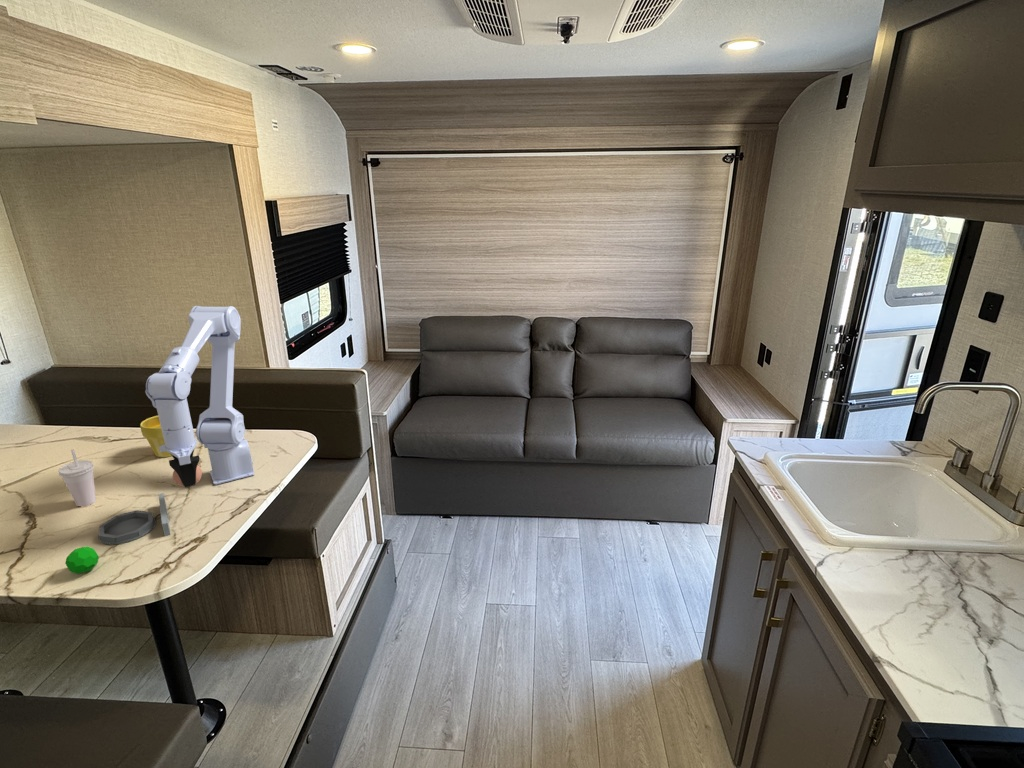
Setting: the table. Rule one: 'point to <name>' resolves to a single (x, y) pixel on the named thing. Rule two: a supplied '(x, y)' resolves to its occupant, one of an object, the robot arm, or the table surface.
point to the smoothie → (79, 480)
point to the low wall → (164, 515)
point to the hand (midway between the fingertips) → (188, 479)
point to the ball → (178, 480)
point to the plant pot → (154, 435)
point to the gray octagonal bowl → (126, 527)
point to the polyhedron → (82, 560)
